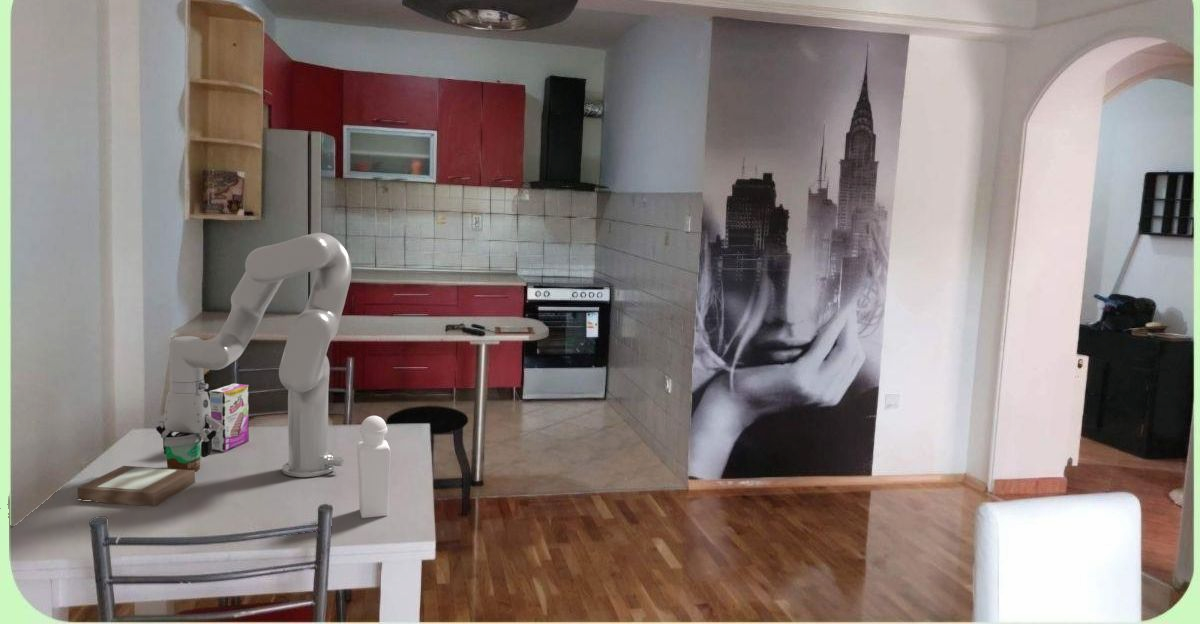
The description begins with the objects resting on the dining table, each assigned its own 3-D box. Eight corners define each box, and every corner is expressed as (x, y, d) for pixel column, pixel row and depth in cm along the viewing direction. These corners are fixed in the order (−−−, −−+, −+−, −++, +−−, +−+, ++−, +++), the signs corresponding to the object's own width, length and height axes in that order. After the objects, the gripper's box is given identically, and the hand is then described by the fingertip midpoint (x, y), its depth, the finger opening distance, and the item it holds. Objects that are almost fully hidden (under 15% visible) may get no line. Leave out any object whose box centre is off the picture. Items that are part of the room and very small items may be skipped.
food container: (190, 479, 207) (188, 439, 206) (164, 478, 207) (163, 438, 206) (214, 463, 219) (213, 425, 218) (190, 462, 219) (189, 424, 218)
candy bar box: (225, 452, 228) (223, 392, 226) (208, 451, 229) (207, 391, 227) (250, 441, 239) (249, 383, 237) (234, 439, 240) (233, 382, 238)
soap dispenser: (390, 516, 188) (390, 419, 185) (359, 519, 186) (359, 420, 183) (387, 506, 194) (387, 411, 191) (357, 508, 192) (356, 413, 189)
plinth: (195, 482, 205) (194, 469, 204) (154, 506, 189) (154, 492, 188) (123, 477, 206) (123, 464, 206) (77, 500, 190) (77, 487, 190)
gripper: (228, 386, 213) (228, 452, 215) (162, 381, 215) (163, 447, 217) (212, 392, 206) (212, 461, 208) (144, 387, 207) (145, 455, 210)
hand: (187, 454), depth 213 cm, fingers open, 9 cm apart
